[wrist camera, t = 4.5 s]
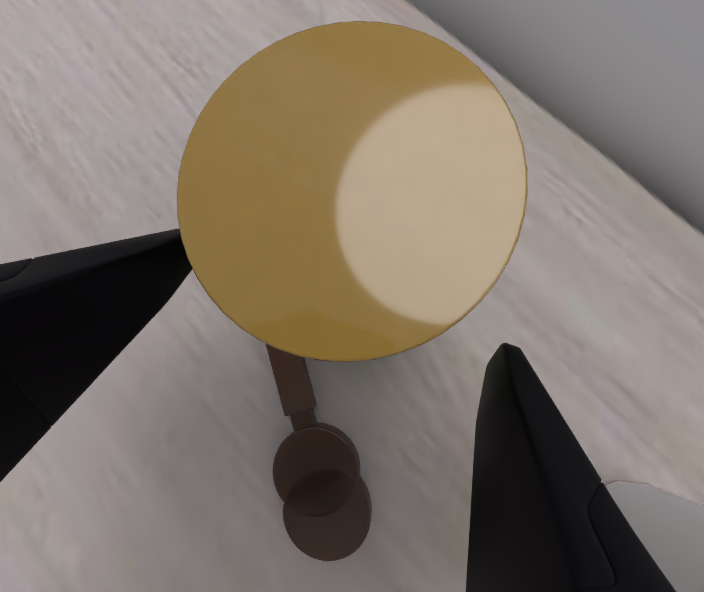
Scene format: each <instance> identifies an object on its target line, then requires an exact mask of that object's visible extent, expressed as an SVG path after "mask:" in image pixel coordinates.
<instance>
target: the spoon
mask: <svg viewBox="0 0 704 592" xmlns="http://www.w3.org/2000/svg"><path fill="white" fill-rule="evenodd" d="M266 347H267V350H268V354H269V358H270V362H271V365H272V369H273V373H274V377H275V381H276V384H277V388H278V392H279V396H280V399H281V403H282V407H283V411H284V414H285V416H289V415H290V417H291V420H292V424H293V428H294V431H293V432H292V433H291V434H290V435H289V436H288V437H287V438H286V439H285V440H284V441H283V443H282V444H281V445H280V447H279V449H278V451H277V453H276V456H275V459H274V464H273V478H274V484H275V487H276V490H277V492H278V494H279V496H280V497H281V499H282V500H283V502H284V505H283V517H284V523H285V527H286V530H287V532H288V534H289V536H290V538H291V540H292V541H293V543H294V544H295V545H296V546H297V547H298V548H299V549H300V550H301V551H302V552H304V553H305V554H307V555H308V556H310V557H312V558H315V559H318V560H323V561H334V560H339V559H342V558H345V557H347V556H349V555H350V554H352V553H353V552H354V551H356V550H357V549H358V548H359V547H360V545H361V544H362V543H363V541H364V539H365V538H366V535H367V533H368V530H369V526H370V520H371V499H370V494H369V492H368V489H367V487H366V485H365V483H364V481H363V480H362V478H361V477H360V476H359V474H360V462H359V457H358V453H357V451H356V448H355V446H354V444H353V443H352V441H351V440H350V439H349V438H348V436H347V435H346V434H344V433H343V432H342V431H341V430H339V429H338V428H336V427H334V426H331V425H328V424H324V423H317V421H316V417H315V414H314V410H313V408H314V407H315V406H316V401H315V397H314V393H313V390H312V386H311V383H310V379H309V376H308V372H307V368H306V365H305V361H304V358H303V357H300V356H297V355H294V354H291V353H288V352H285V351H281V350H279V349H276V348H274V347H272V346H270V345H268V344H266Z"/></svg>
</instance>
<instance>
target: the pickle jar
mask: <svg viewBox="0 0 704 592" xmlns="http://www.w3.org/2000/svg"><path fill="white" fill-rule="evenodd" d="M527 192H528V190H527V165H526V159H525V153H524V147H523V143H522V140H521V136H520V133H519V130H518V127H517V124H516V121H515V119H514V117H513V115H512V113H511V111H510V109H509V107H508V105H507V103H506V101H505V100H504V98H503V97H502V95H501V94H500V93H499V91H498V90H497V88H496V87H495V85H494V84H493V83H492V82H491V80H490V79H489V78H488V77H487V76H486V75H485V74H484V73H483V72H482V70H481V69H480V68H479V67H478V66H476V65H475V64H474V63H473V62H472V61H470V60H469V59H468V58H467V57H466V56H464V55H463V54H462V53H461V52H459V51H457V50H456V49H454V48H453V47H451V46H449V45H448V44H446V43H445V42H443V41H441V40H439V39H436V38H434V37H432V36H430V35H428V34H426V33H423V32H420V31H417V30H414V29H410V28H407V27H404V26H400V25H394V24H388V23H382V22H367V21H353V22H339V23H333V24H328V25H322V26H317V27H313V28H310V29H307V30H304V31H301V32H298V33H295V34H292V35H290V36H288V37H286V38H284V39H281V40H279V41H277V42H275V43H273V44H271V45H270V46H268V47H266V48H265V49H263V50H261V51H260V52H258V53H256V54H255V55H254V56H252V57H251V58H250V59H249V60H247V61H246V62H245V63H243V64H242V65H241V66H239V67H238V68H237V69H236V70H235V71H234V72H233V73H232V74H231V75H230V76H229V77H228V78H227V79H226V80H225V81H224V82H223V83H222V84H221V86H220V87H219V88H218V89H217V91H216V92H215V93H214V94H213V95H212V97H211V98H210V99H209V101H208V103H207V104H206V106H205V107H204V109H203V110H202V112H201V113H200V115H199V117H198V119H197V121H196V123H195V125H194V127H193V129H192V131H191V133H190V136H189V139H188V141H187V144H186V147H185V150H184V153H183V157H182V162H181V166H180V171H179V176H178V188H177V212H178V222H179V227H180V233H181V238H182V242H183V245H184V248H185V251H186V254H187V257H188V260H189V262H190V264H191V266H192V268H193V270H194V273H195V275H196V277H197V279H198V280H199V282H200V283H201V285H202V286H203V288H204V289H205V291H206V293H207V294H208V296H209V297H210V298H211V299H212V300H213V302H214V303H215V304H216V305H217V306H218V307H219V309H220V310H221V311H222V312H223V313H224V314H225V315H226V316H227V317H228V318H230V319H231V320H232V321H233V322H234V323H235V324H236V325H238V326H239V327H240V328H241V329H243V330H244V331H246V332H247V333H249V334H250V335H252V336H253V337H255V338H256V339H258V340H260V341H262V342H264V343H266V344H268V345H270V346H272V347H274V348H276V349H279V350H281V351H285V352H288V353H291V354H294V355H297V356H300V357H305V358H310V359H316V360H322V361H336V362H354V361H365V360H374V359H378V358H383V357H387V356H391V355H396V354H399V353H401V352H404V351H407V350H409V349H412V348H415V347H417V346H420V345H422V344H424V343H426V342H428V341H429V340H431V339H433V338H435V337H437V336H439V335H441V334H442V333H444V332H445V331H447V330H448V329H449V328H451V327H452V326H454V325H455V324H456V323H458V322H459V321H460V320H462V319H463V318H464V317H465V316H466V315H467V314H468V313H469V312H470V311H471V310H473V309H474V308H475V307H476V306H477V305H478V304H479V303H480V302H481V301H482V299H483V298H484V297H485V296H486V295H487V293H488V292H489V291H490V290H491V288H492V287H493V286H494V285H495V283H496V282H497V280H498V279H499V277H500V275H501V274H502V272H503V270H504V269H505V267H506V265H507V264H508V262H509V260H510V257H511V255H512V253H513V250H514V248H515V246H516V243H517V241H518V239H519V235H520V231H521V227H522V224H523V220H524V216H525V209H526V201H527Z"/></svg>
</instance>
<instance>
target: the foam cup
mask: <svg viewBox="0 0 704 592" xmlns="http://www.w3.org/2000/svg"><path fill="white" fill-rule="evenodd" d="M605 486H606V488H607V489H608V491H609V493H610V494H611V496H612V498H613V499H614V501H615V502H616V504H617V506H618V507H619V509H620V510H621V512H622V513H623V515H624V516H625V518H626V520H627V521H628V523H629V524H630V526H631V527H632V529H633V530H634V532H635V533H636V535H637V536H638V538H639V539H640V541H641V542H642V543H643V545H644V546H645V548H646V549H647V551H648V552H649V554H650V555H651V557H652V558H653V559H654V561H655V562H656V564H657V565H658V567H659V568H660V569H661V571H662V572H663V574H664V575H665V576H666V578H667V579H668V581H669V582H670V583H671V585H672V586H673V588H674V589H675V590H676V592H704V505H701V504H699V503H696V502H694V501H691V500H689V499H686V498H684V497H681V496H679V495H676V494H674V493H671V492H669V491H666V490H664V489H661V488H655V487H653V486H652V485H650V484H643V483H633V482H622V481H616V482H613V483H610V484H608V485H605Z"/></svg>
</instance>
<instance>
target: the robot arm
mask: <svg viewBox="0 0 704 592" xmlns="http://www.w3.org/2000/svg"><path fill="white" fill-rule="evenodd" d="M192 269H193V268H192V266H191V264H190V262H189V260H188V257H187V254H186V251H185V248H184V245H183V242H182V238H181V233H180V229H174V230H169V231H164V232H159V233H154V234H149V235H144V236H139V237H134V238H129V239H124V240H119V241H114V242H110V243H105V244H100V245H95V246H90V247H85V248H80V249H75V250H70V251H65V252H60V253H55V254H50V255H45V256H40V257H35V258H34V259H32V258H30V259H25V260H20V261H15V262H10V263H5V264H0V482H1V481H2V480H3V479H4V478H5V476H6V475H7V474H8V473H9V472H10V471H11V470H12V469H13V468H14V467H15V466H16V465H17V464H18V462H19V461H20V460H21V459H22V458H23V457H24V456H25V455H26V454H27V453H28V452H29V451H30V450H31V449H32V447H33V446H34V445H35V444H36V443H37V442H38V441H39V440H40V439H41V438H42V437H43V436H44V435H45V433H46V432H47V431H48V430H49V429H50V428H51V426H52V425H54V423H55V422H56V421H57V420H58V419H59V418H60V417H61V416H62V415H63V414H64V413H65V412H66V411H67V410H68V408H69V407H70V406H71V405H72V404H73V403H74V402H75V401H76V400H77V399H78V398H79V397H80V396H81V394H82V393H83V392H84V391H85V390H86V389H87V388H88V387H89V386H90V385H91V384H92V383H93V382H94V380H95V379H96V378H97V377H98V376H99V375H100V374H101V373H102V372H103V371H104V370H105V369H106V368H107V367H108V365H109V364H110V363H111V362H112V361H113V360H114V359H115V358H116V357H117V356H118V355H119V354H120V353H121V351H122V350H123V349H124V348H125V347H126V346H127V345H128V344H129V343H130V342H131V341H132V340H133V339H134V338H135V336H136V335H137V334H138V333H139V332H140V331H141V330H142V329H143V328H144V327H145V326H146V325H147V324H148V322H149V321H150V320H151V319H152V318H153V317H154V316H155V315H156V314H157V313H158V312H159V311H160V310H161V308H162V307H163V306H164V305H165V304H166V303H167V302H168V301H169V299H170V298H171V297H172V295H173V294H174V293H175V291H176V290H177V289H178V287H179V286H180V285H181V283H182V282H183V281H184V279H185V278H186V277H187V275H188V274H189V273H190V271H191V270H192ZM600 482H601V478H600V477H599V475H598V473H597V472H596V470H595V469H594V467H593V465H592V464H591V462H590V461H589V459H588V457H587V456H586V454H585V452H584V451H583V449H582V448H581V446H580V444H579V443H578V441H577V439H576V438H575V436H574V435H573V433H572V431H571V430H570V428H569V426H568V425H567V423H566V422H565V420H564V418H563V417H562V415H561V413H560V412H559V410H558V409H557V407H556V405H555V404H554V402H553V400H552V399H551V397H550V396H549V394H548V392H547V391H546V389H545V388H544V386H543V384H542V383H541V381H540V379H539V378H538V376H537V375H536V373H535V371H534V370H533V368H532V366H531V365H530V363H529V362H528V360H527V358H526V357H525V355H524V353H523V352H522V350H521V349H520V348H519V347H516V346H514V345H511V344H508V343H502V344H501V345H500V346H499V348H498V349H497V351H496V352H495V354H494V355H493V356H492V358H491V359H490V361H489V363H488V365H487V367H486V371H485V377H484V382H483V387H482V392H481V398H480V403H479V408H478V414H477V420H476V429H475V446H474V463H473V480H472V496H471V513H470V530H469V547H468V564H467V581H466V592H676V590H675V589H674V588H673V586H672V585H671V583H670V582H669V581H668V579H667V578H666V576H665V575H664V574H663V572H662V571H661V569H660V568H659V567H658V565H657V564H656V562H655V561H654V559H653V558H652V557H651V555H650V554H649V552H648V551H647V549H646V548H645V546H644V545H643V543H642V542H641V541H640V539H639V538H638V536H637V535H636V533H635V532H634V530H633V529H632V527H631V526H630V524H629V523H628V521H627V520H626V518H625V516H624V515H623V513H622V512H621V510H620V509H619V507H618V506H617V504H616V502H615V501H614V499H613V498H612V496H611V494H610V493H609V491H608V489H607V488H606V486H605V485H604V483H600Z"/></svg>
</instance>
